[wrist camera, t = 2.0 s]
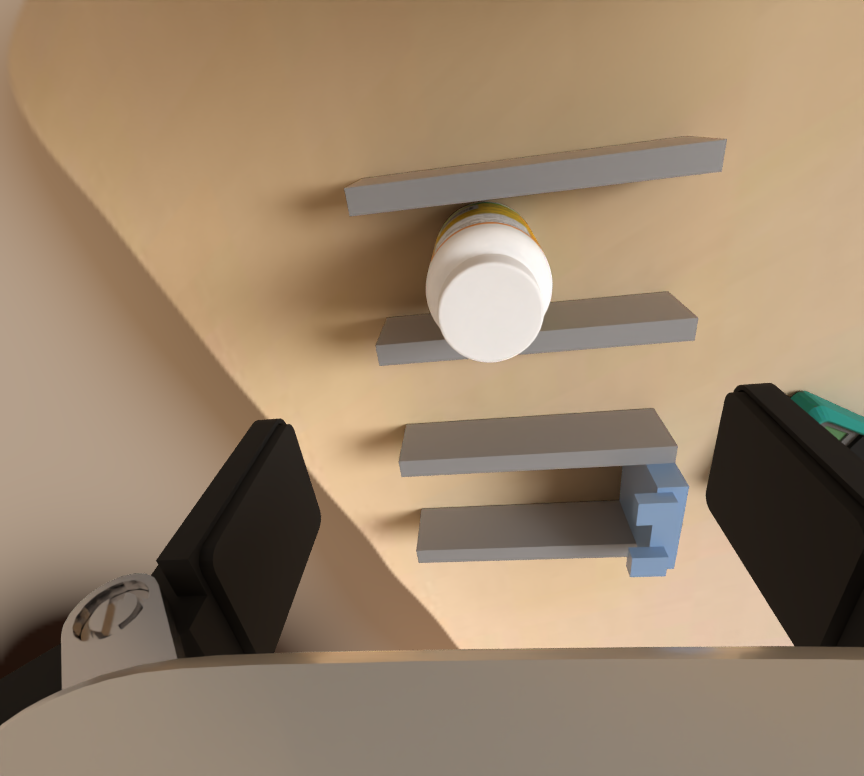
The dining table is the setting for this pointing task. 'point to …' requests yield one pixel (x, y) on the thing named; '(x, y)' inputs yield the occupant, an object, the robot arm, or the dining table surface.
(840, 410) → the digital multimeter
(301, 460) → the robot arm
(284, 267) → the dining table surface
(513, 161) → the grey parallel walls
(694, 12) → the dining table surface
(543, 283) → the supplement bottle
